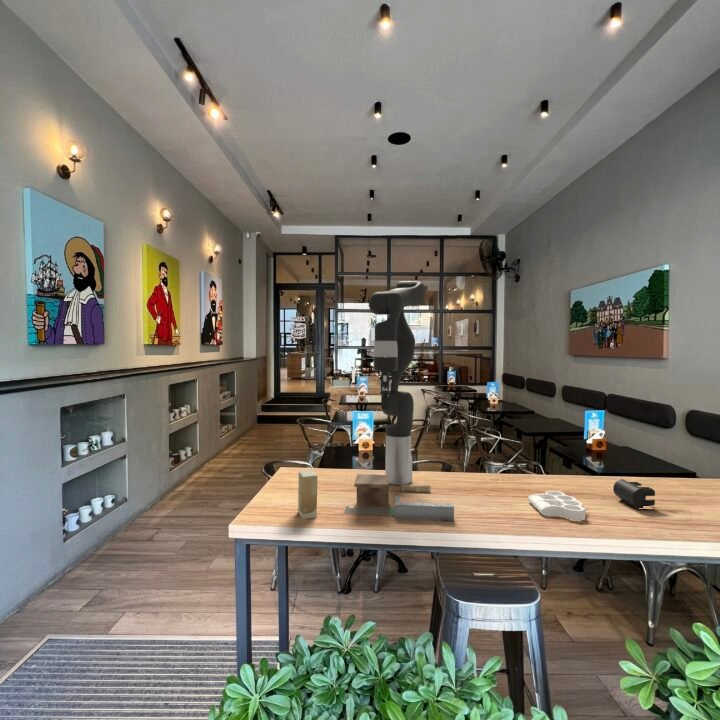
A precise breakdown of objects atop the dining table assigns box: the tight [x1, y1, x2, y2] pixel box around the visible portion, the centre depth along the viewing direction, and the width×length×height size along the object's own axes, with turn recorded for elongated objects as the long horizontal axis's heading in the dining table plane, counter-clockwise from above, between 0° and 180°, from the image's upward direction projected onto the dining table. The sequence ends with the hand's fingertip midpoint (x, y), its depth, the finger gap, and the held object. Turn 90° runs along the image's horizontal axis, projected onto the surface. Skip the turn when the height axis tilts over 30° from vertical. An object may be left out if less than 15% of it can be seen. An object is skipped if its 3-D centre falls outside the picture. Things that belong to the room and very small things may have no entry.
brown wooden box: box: [353, 473, 390, 506], centre depth 129 cm, size 10×10×9 cm
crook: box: [394, 495, 455, 522], centre depth 124 cm, size 16×8×4 cm, turn 85°
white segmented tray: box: [527, 490, 589, 520], centre depth 130 cm, size 3×18×15 cm
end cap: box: [613, 478, 656, 509], centre depth 135 cm, size 10×7×7 cm
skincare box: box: [297, 469, 318, 520], centre depth 124 cm, size 6×4×12 cm
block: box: [400, 497, 419, 503], centre depth 126 cm, size 5×5×4 cm
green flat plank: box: [343, 505, 395, 516], centre depth 127 cm, size 25×6×1 cm, turn 85°
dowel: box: [400, 484, 432, 493], centre depth 146 cm, size 10×2×2 cm
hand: (385, 407), depth 134 cm, fingers open, 8 cm apart
